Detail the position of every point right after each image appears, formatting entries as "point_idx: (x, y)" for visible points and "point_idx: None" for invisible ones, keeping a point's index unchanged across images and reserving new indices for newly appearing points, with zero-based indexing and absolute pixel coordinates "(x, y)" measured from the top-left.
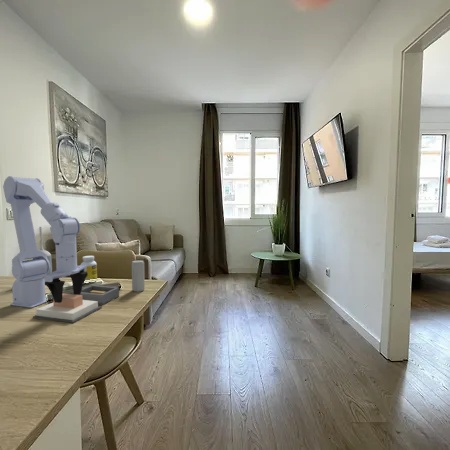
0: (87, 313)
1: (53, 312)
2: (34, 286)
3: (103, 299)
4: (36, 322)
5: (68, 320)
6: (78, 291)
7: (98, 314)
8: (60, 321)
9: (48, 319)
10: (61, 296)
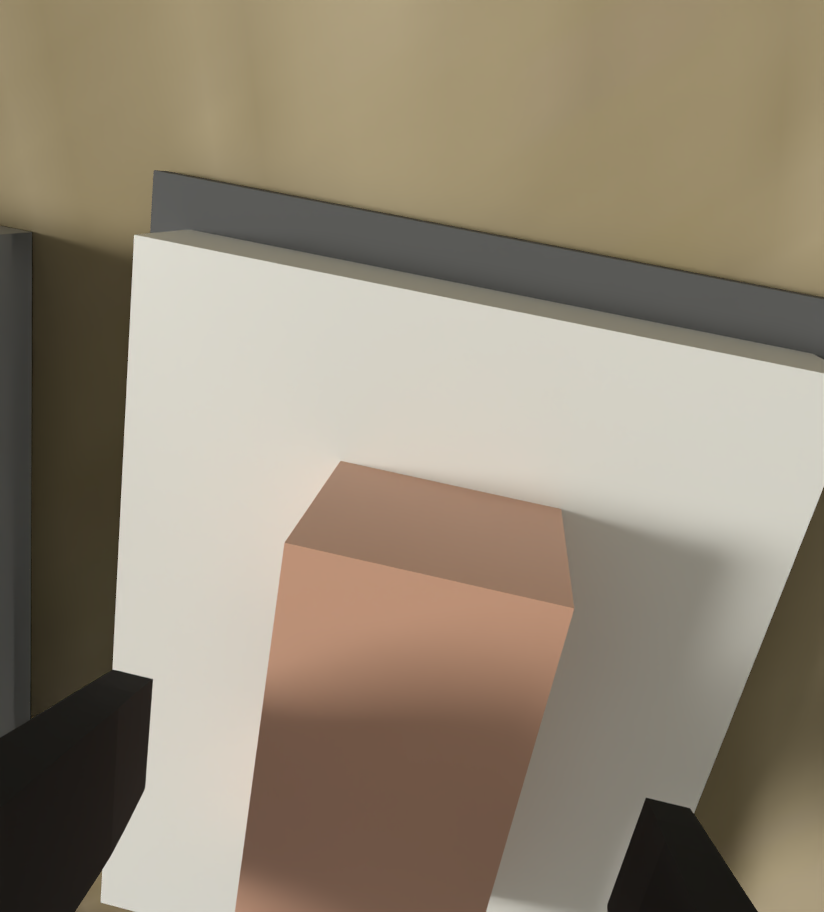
0: (498, 261)
1: (702, 764)
2: None
3: None
4: (771, 842)
5: None
6: (111, 742)
7: (456, 56)
8: None
9: None
10: (717, 905)
